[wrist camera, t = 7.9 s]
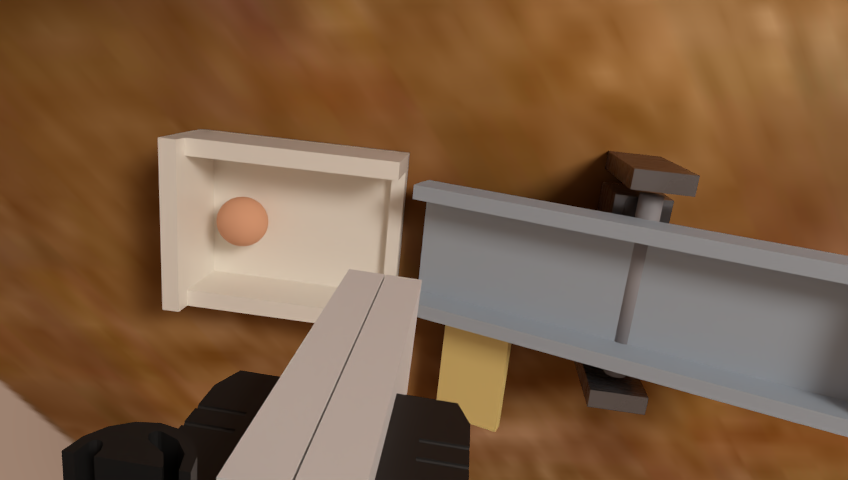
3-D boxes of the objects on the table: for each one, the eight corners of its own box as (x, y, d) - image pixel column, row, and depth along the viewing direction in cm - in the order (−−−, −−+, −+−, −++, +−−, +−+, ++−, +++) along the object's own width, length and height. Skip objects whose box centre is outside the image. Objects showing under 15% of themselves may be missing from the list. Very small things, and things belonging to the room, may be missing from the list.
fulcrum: (571, 350, 38) (587, 406, 32) (608, 150, 34) (634, 168, 28) (619, 357, 38) (644, 414, 31) (661, 156, 34) (699, 175, 28)
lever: (413, 395, 39) (391, 417, 37) (438, 157, 35) (415, 163, 32) (836, 536, 30) (849, 580, 28) (941, 240, 26) (970, 257, 23)
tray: (202, 281, 39) (162, 309, 35) (201, 129, 37) (157, 137, 32) (395, 306, 38) (381, 340, 34) (409, 152, 36) (397, 165, 31)
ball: (208, 249, 35) (257, 255, 35) (207, 199, 34) (259, 205, 34) (228, 235, 38) (274, 241, 38) (228, 189, 37) (275, 195, 37)
